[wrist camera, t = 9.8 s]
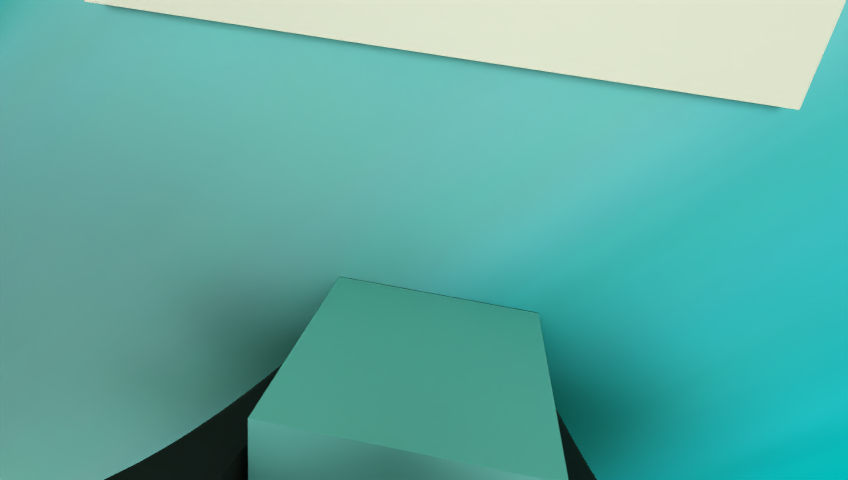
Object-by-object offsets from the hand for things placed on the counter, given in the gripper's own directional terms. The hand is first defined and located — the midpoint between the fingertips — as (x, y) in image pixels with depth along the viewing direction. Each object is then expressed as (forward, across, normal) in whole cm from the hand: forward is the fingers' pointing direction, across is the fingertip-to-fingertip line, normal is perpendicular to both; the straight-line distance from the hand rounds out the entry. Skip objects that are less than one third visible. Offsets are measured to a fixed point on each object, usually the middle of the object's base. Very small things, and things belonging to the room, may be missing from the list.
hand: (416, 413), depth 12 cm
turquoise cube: (+1, 0, 0) cm, 1 cm away
